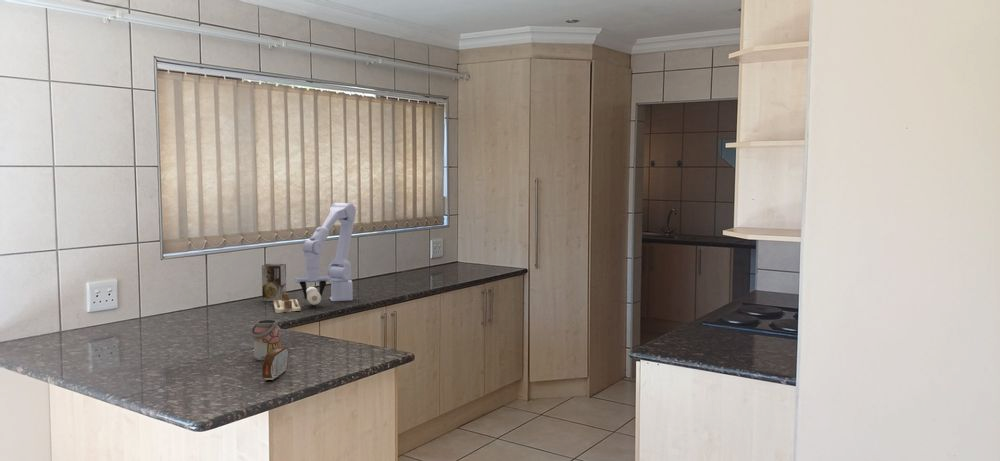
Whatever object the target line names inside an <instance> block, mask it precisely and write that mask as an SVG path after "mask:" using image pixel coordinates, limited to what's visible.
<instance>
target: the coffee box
mask: <svg viewBox="0 0 1000 461" xmlns="http://www.w3.org/2000/svg"><path fill="white" fill-rule="evenodd" d="M286 267H287V266H286V263H265V264H263V265H261V285H262V287H261V288H262V289H261V291H262V292H261V293H262V295H261V296H262V298H261V299H262V301H263V302H273V300H282V294H287V272H286V271H287V268H286Z"/></svg>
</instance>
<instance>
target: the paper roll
mask: <svg viewBox="0 0 1000 461" xmlns="http://www.w3.org/2000/svg"><path fill="white" fill-rule="evenodd" d="M306 294H307V299H306V300H307V302H308V303H309V304H310V305H312V306H313V305H314V306H315V305H318V304H319V303H321V300H322V298H321V295H320V293H319V291H318V288H316V287H314V286H309V287H306Z"/></svg>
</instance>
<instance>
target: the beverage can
mask: <svg viewBox="0 0 1000 461" xmlns="http://www.w3.org/2000/svg"><path fill="white" fill-rule="evenodd" d="M278 323H279V322H278V320H277V319H270V318H269V319H258V320H257V321H256V322H255V324H254V325H253V326H252V327H251V328H250V332H249V335H250V336H251V337H252V338H253V357H254V359H255V358H256V359H264V358H265V356H266V354H267V353H268V352H269V351H271V350H272V349H274V348H276V347H277V346H281V328H280V326H279V325H278Z"/></svg>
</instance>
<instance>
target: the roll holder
mask: <svg viewBox="0 0 1000 461" xmlns="http://www.w3.org/2000/svg"><path fill="white" fill-rule="evenodd" d="M272 302H273V303H272V304H273V308H274V311H275V313H276V314H283V312H286V313H292V312H291V311H302V308H301V306H300V304H299V301H298V299H296V298H293V299H290V293H287V292H286V294H282V300H273V301H272Z"/></svg>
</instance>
